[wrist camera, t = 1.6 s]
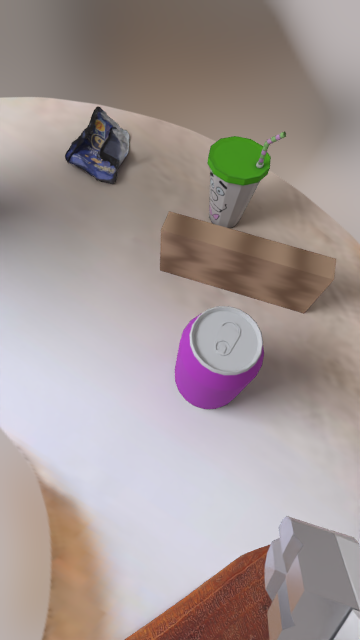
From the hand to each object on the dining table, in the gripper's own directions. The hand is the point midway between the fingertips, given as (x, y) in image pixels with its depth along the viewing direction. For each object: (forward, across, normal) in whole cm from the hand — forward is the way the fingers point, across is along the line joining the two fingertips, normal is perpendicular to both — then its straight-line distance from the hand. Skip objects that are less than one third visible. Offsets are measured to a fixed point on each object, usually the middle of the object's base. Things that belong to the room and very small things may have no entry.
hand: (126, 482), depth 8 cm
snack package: (+50, +23, -11) cm, 56 cm away
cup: (+46, +1, -7) cm, 47 cm away
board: (+38, -3, +1) cm, 39 cm away
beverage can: (+29, -3, +11) cm, 31 cm away
